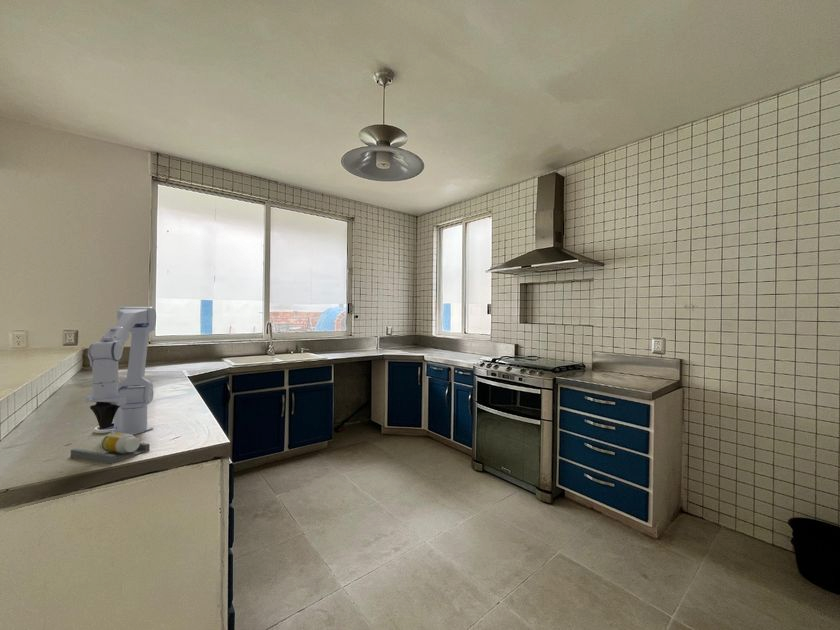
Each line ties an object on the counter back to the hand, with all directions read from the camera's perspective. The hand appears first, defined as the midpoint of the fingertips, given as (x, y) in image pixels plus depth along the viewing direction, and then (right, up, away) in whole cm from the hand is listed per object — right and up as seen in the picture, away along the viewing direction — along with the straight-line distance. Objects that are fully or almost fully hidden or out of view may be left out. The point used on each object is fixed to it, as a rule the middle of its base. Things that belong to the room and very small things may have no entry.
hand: (105, 427), depth 103 cm
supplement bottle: (0, -5, +1) cm, 5 cm away
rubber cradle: (+2, -7, -1) cm, 8 cm away
